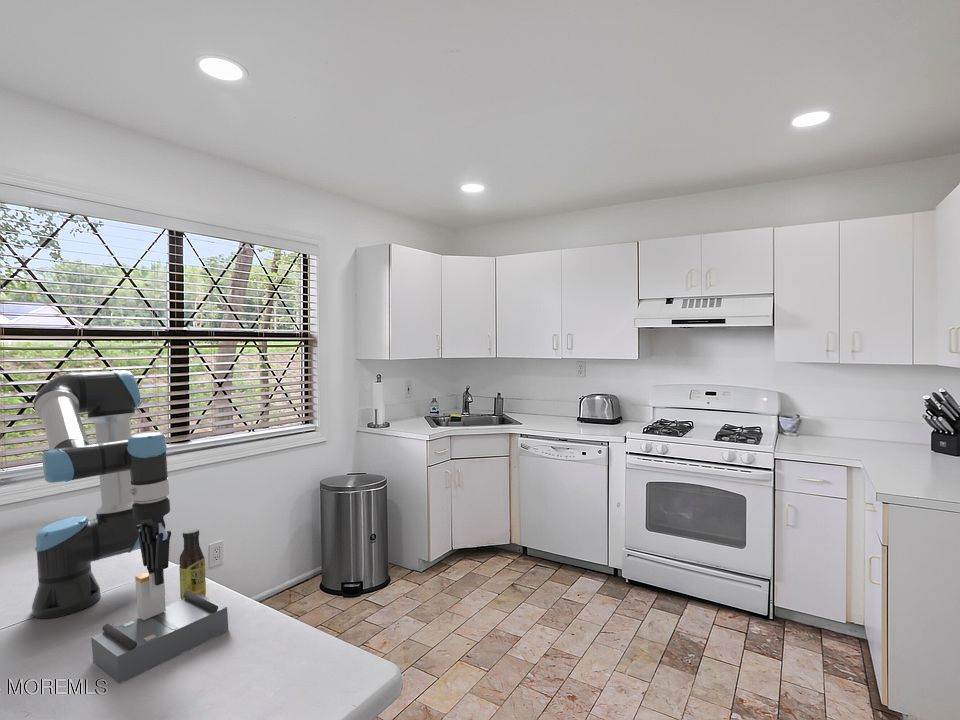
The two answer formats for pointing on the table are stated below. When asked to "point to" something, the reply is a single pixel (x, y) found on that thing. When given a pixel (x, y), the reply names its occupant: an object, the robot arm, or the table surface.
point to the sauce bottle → (192, 565)
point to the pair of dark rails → (132, 644)
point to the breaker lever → (147, 598)
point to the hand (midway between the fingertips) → (157, 596)
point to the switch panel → (158, 638)
